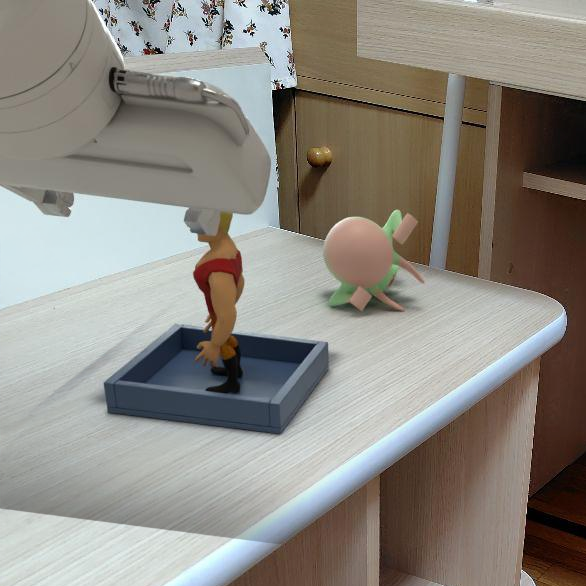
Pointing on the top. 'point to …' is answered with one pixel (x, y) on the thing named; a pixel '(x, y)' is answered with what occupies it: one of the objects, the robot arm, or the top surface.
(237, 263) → the action figure
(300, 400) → the blue tray
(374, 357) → the top surface
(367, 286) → the pink green toy creature
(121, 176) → the robot arm
